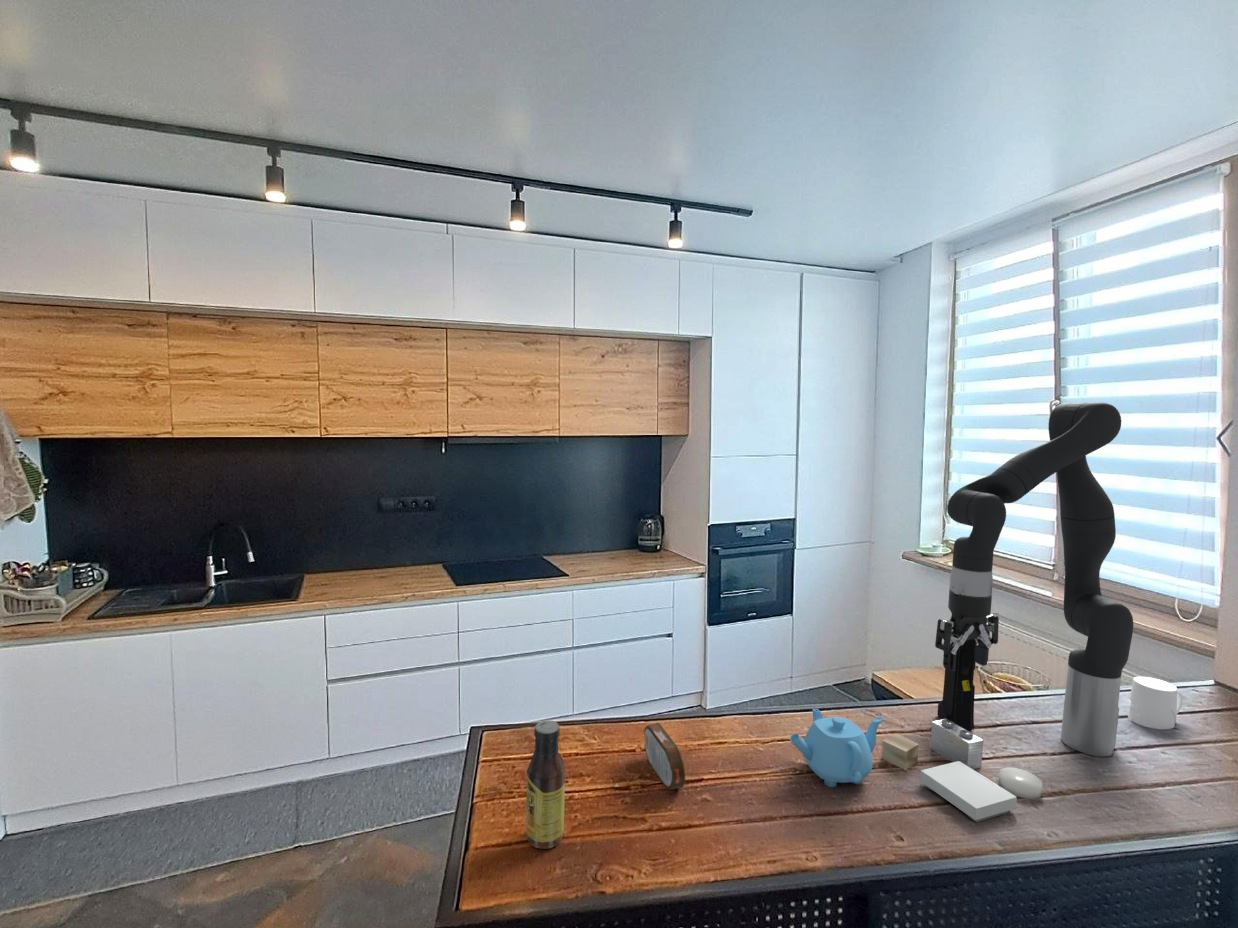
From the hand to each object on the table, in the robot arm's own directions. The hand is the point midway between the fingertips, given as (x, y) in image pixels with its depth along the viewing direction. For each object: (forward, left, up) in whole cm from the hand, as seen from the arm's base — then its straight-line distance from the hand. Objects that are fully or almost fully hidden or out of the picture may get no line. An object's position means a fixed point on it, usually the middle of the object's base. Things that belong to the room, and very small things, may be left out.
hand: (965, 666), depth 127 cm
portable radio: (-13, -11, -20) cm, 26 cm away
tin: (+60, -15, -21) cm, 66 cm away
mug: (-61, +3, -21) cm, 64 cm away
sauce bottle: (+86, -5, -20) cm, 89 cm away
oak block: (+11, -4, -20) cm, 24 cm away
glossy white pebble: (-4, +11, -20) cm, 23 cm away
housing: (-1, -1, -20) cm, 20 cm away
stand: (+9, +10, -20) cm, 24 cm away
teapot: (+27, -5, -20) cm, 35 cm away
